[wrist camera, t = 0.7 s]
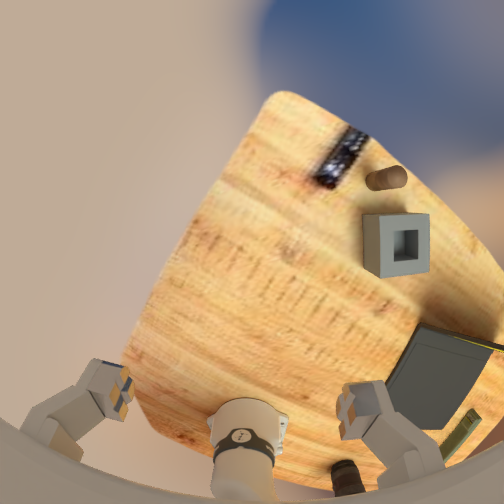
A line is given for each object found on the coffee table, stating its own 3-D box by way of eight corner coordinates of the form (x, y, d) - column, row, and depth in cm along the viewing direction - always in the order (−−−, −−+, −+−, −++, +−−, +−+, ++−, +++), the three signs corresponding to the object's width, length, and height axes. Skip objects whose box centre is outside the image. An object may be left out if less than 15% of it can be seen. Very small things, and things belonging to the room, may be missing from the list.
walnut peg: (383, 190, 47) (408, 187, 37) (366, 191, 47) (389, 187, 37) (381, 172, 47) (406, 165, 37) (364, 172, 47) (387, 165, 37)
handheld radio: (474, 408, 55) (429, 461, 59) (469, 408, 55) (423, 462, 59) (483, 419, 48) (435, 473, 52) (478, 419, 49) (430, 474, 52)
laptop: (356, 422, 56) (386, 501, 30) (428, 297, 50) (509, 347, 24) (439, 427, 56) (476, 481, 30) (500, 327, 51) (559, 364, 25)
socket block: (408, 263, 49) (429, 272, 41) (363, 268, 49) (380, 278, 42) (407, 212, 47) (429, 213, 40) (362, 214, 48) (379, 216, 40)
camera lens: (342, 475, 59) (351, 511, 44) (323, 470, 59) (330, 509, 44) (361, 461, 58) (374, 497, 43) (342, 456, 57) (353, 495, 43)
